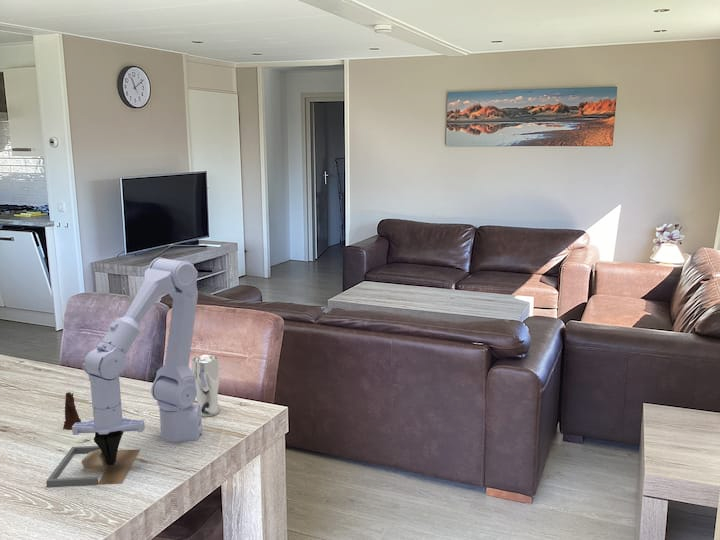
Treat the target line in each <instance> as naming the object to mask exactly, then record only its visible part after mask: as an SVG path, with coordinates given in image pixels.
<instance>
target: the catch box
mask: <svg viewBox="0 0 720 540" xmlns="http://www.w3.org/2000/svg"><path fill="white" fill-rule="evenodd" d="M99 449H100V448H99V447H98V445H88V446H86V445H85V446H72V447H71V448H70V449H69V451H68V452H67V453H66V454H65V455H64V457H63V458H62V459H61V461H59V464H58V465H57V466H56V467H55V469H54V470H53V472H51V474H50V475H49V477H48V478H47V480H46V482H45V483H46V487H47V488H56V487H74V486H75V487H77V486H78V487H79V486H98V485H97V484H98V482H99V477H98V476H89V477H88V476H87V477H85V476H84V477H66V478H65V477H63V478H60V477H59V476H60V475H61V474H62V472H63V471H64V470H65V468H67V466H68V465H69V463H70V461H71V460H72V459H73V457H74V456H75V455H79V454H80V455H81V454H82V455H83V454H88V453H89V452H92V451H96V450H99Z"/></svg>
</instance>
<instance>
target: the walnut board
mask: <svg viewBox="0 0 720 540" xmlns="http://www.w3.org/2000/svg"><path fill="white" fill-rule="evenodd" d="M140 451H141V449H140V448H139V449H136V448H135V449H118V451H117V457H116V462H115V464H114V465H109V466H108V467H107V468H106V470H105V471H103V474H102V476H101V477H100V479H99V480H98V484H97V485H96V486H98V485H99V486H100V485H101V486H103V485H117V484H118V485H119V484H120V485H122V484H123V483H124V481H125V479H126V478H127V476H128V473H129V472H130V470H131V468H132V466H133V464H134V462H135V461H136V458H137V457H138V455H139V453H140Z"/></svg>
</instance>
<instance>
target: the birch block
mask: <svg viewBox="0 0 720 540" xmlns="http://www.w3.org/2000/svg"><path fill="white" fill-rule="evenodd" d="M81 465H82V466H83V467H82V468H83V469H84V471H85V472H105V471H106V469H107V467H108V466H109V465H107V462H106V459H105V457H104V455H103V453H102V451H101V449H99V450H96V451H92V452H89V453H86V455H85V456H84V457H83V459H82V460H81Z"/></svg>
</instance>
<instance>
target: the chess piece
mask: <svg viewBox="0 0 720 540" xmlns="http://www.w3.org/2000/svg"><path fill="white" fill-rule="evenodd" d="M76 408H77V407H76V405H75V397H74V393H71V392H70V391H68V392H66V393H65V402H64V420H65V421H64V422H63V430H65V431H72V426H73V425H74V424H75V423H80V422H82V419H81V418H80V416H79V413H78V411H77V409H76Z"/></svg>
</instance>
